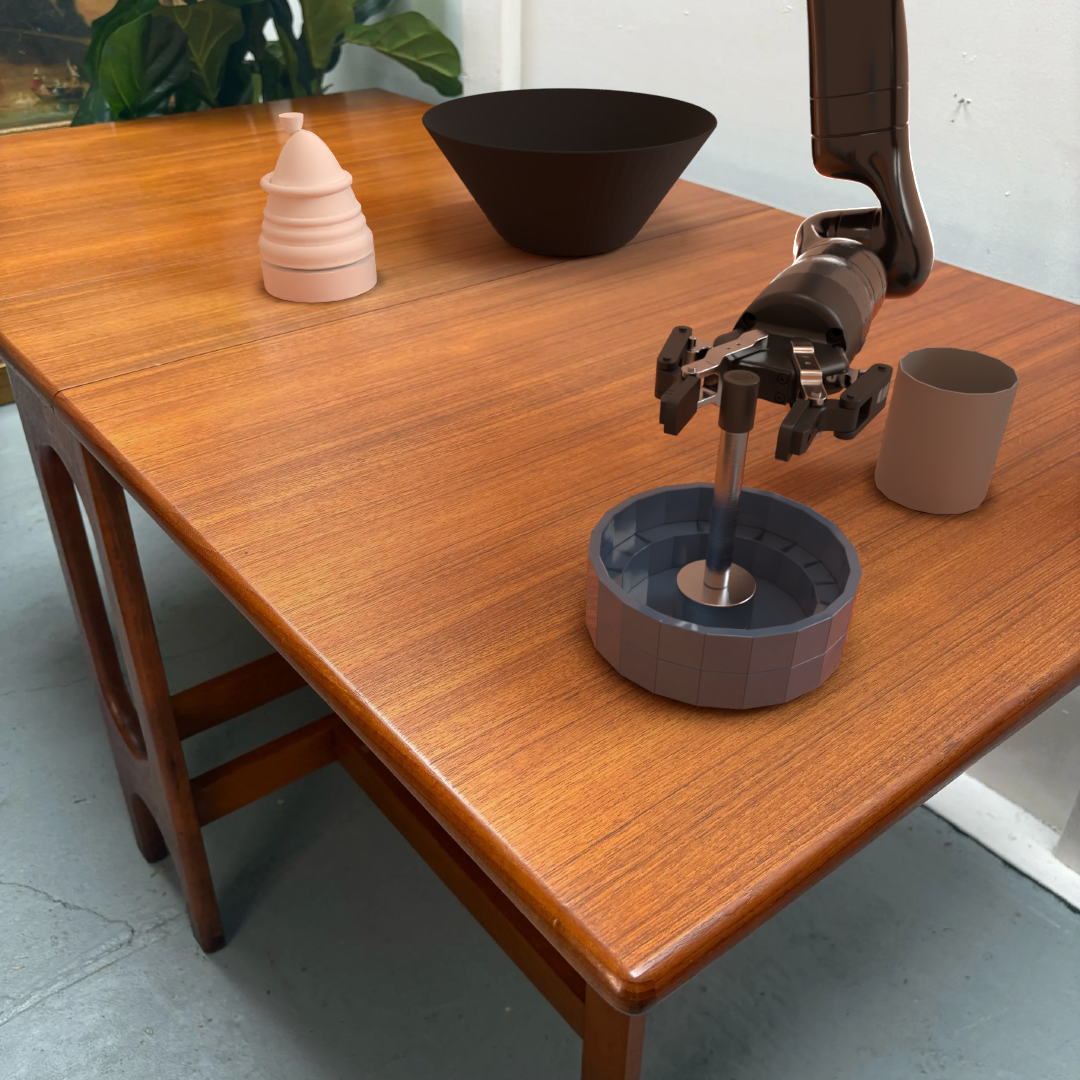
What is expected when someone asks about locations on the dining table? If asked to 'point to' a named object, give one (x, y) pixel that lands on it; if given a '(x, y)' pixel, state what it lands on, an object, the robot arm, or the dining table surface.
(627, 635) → the bowl
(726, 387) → the metal rod on disc
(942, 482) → the cup
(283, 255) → the honey pot
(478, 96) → the bowl
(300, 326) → the dining table surface
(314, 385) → the dining table surface
